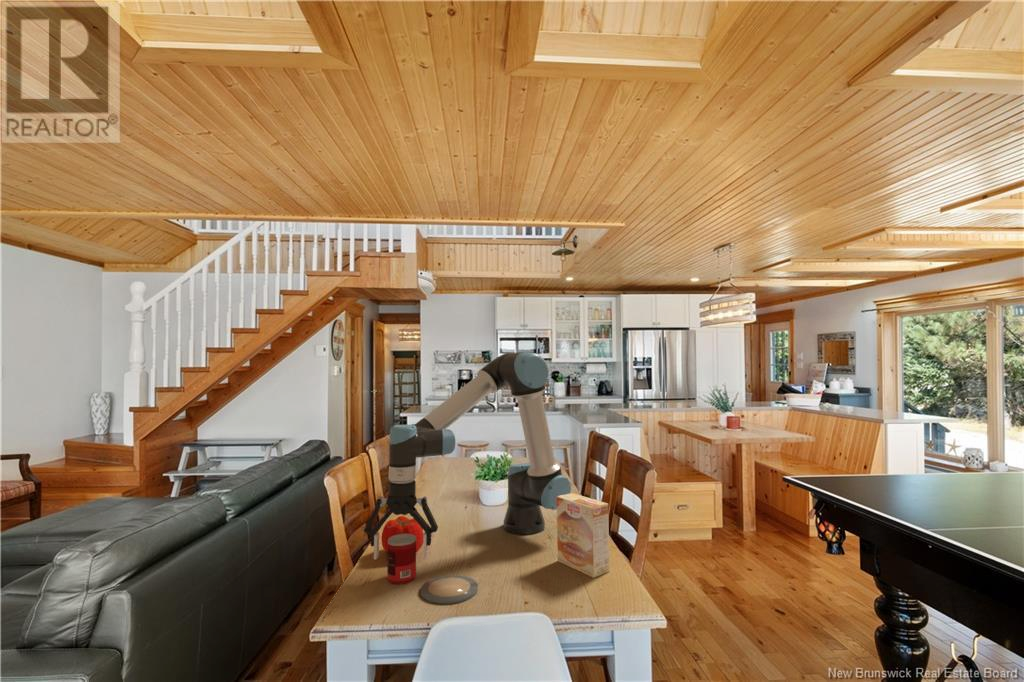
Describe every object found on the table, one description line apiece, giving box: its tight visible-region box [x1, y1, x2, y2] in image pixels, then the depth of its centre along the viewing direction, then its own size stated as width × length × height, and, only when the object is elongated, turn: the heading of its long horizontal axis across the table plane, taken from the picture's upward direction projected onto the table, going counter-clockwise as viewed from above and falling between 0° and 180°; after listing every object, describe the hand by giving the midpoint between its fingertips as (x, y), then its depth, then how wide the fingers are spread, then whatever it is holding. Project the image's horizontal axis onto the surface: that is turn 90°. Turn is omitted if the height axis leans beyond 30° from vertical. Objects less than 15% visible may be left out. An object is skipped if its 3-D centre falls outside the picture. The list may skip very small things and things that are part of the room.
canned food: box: [387, 534, 417, 585], centre depth 135 cm, size 8×8×11 cm
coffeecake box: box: [556, 492, 610, 579], centre depth 142 cm, size 15×7×20 cm, turn 37°
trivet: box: [420, 574, 479, 605], centre depth 127 cm, size 15×15×1 cm
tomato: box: [380, 515, 425, 554], centre depth 153 cm, size 14×13×10 cm
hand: (400, 557), depth 135 cm, fingers open, 13 cm apart
